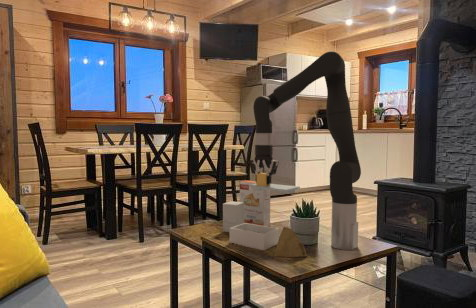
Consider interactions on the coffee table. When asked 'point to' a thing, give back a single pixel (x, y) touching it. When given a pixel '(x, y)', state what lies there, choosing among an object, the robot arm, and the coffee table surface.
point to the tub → (254, 236)
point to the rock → (289, 245)
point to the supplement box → (232, 215)
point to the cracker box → (255, 204)
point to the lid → (271, 185)
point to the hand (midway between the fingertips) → (263, 183)
